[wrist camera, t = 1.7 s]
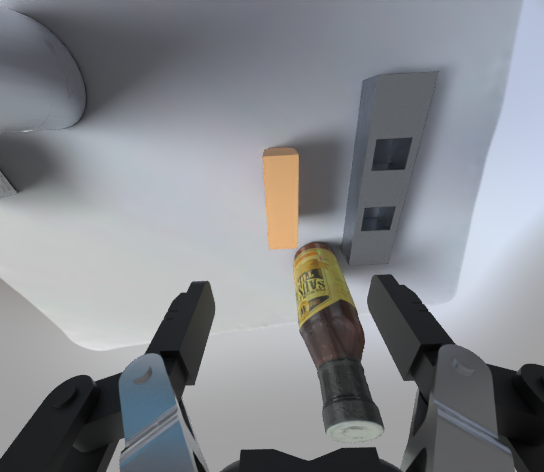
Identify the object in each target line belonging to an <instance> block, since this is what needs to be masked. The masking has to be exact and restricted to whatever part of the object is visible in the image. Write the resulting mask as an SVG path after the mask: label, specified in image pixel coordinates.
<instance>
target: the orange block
mask: <svg viewBox="0 0 544 472" xmlns="http://www.w3.org/2000/svg"><path fill="white" fill-rule="evenodd" d="M263 170H264V185H265V199H266V213H267V227H268V242H269V249H290V248H298V180H299V154H298V153H297V151H296V149H295V148H290V147H279V148H268V149H265V150H264V153H263Z"/></svg>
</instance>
